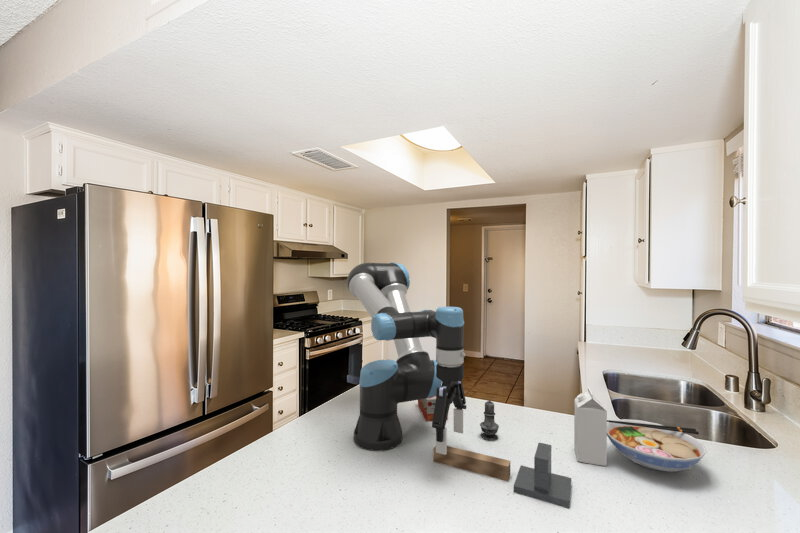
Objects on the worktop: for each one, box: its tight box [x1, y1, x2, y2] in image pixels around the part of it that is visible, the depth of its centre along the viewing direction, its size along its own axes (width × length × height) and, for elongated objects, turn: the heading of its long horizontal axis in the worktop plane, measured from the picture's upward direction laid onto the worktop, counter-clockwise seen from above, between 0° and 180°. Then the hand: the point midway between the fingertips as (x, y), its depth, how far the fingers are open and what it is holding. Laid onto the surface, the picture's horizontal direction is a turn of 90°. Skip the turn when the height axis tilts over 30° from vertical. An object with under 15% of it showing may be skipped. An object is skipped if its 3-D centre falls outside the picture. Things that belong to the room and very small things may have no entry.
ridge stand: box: [513, 442, 572, 509], centre depth 87 cm, size 12×10×9 cm
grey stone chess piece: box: [479, 398, 500, 442], centre depth 113 cm, size 6×6×12 cm
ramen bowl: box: [607, 418, 708, 472], centre depth 98 cm, size 25×23×8 cm
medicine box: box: [417, 396, 448, 422], centre depth 132 cm, size 15×8×8 cm, turn 9°
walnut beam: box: [432, 445, 511, 482], centre depth 95 cm, size 20×3×4 cm, turn 64°
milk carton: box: [573, 386, 608, 467], centre depth 101 cm, size 7×7×19 cm
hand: (450, 442), depth 98 cm, fingers open, 13 cm apart
